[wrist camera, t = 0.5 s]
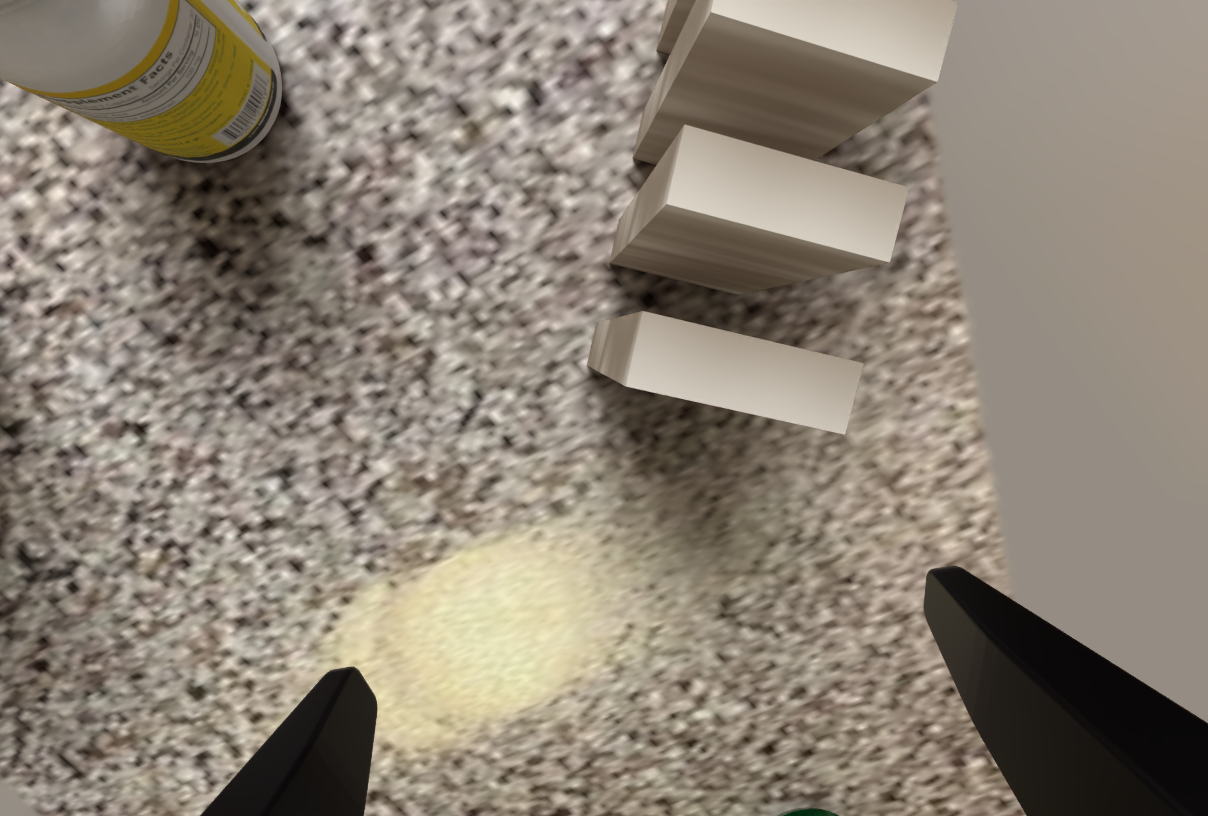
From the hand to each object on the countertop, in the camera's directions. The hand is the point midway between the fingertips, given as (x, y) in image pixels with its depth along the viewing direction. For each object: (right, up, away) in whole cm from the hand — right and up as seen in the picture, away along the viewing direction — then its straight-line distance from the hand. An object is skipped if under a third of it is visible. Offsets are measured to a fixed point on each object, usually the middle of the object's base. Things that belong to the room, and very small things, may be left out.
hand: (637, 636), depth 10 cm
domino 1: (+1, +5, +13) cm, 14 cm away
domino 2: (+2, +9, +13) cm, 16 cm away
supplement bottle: (-14, +14, +11) cm, 23 cm away
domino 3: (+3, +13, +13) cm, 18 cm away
